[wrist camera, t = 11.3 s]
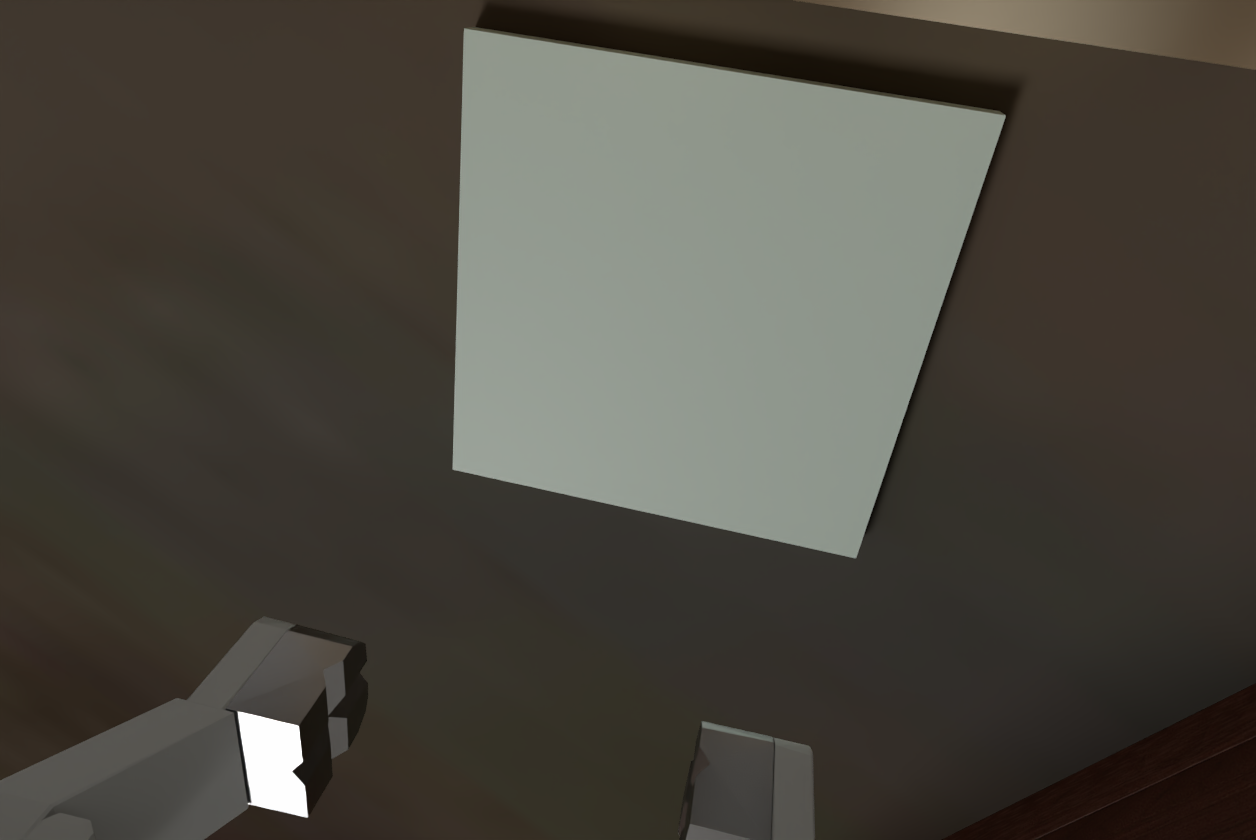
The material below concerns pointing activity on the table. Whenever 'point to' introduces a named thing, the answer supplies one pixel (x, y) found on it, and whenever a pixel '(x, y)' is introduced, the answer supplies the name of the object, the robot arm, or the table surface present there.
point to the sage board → (699, 281)
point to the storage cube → (1151, 787)
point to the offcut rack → (1101, 23)
